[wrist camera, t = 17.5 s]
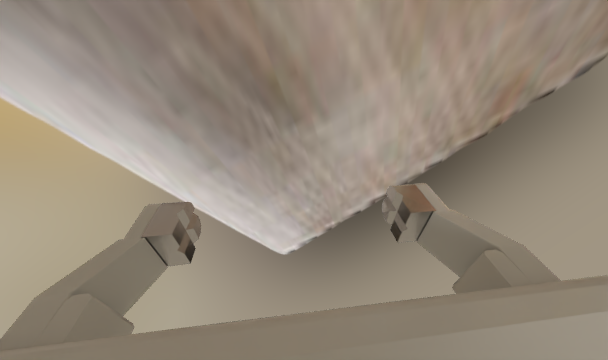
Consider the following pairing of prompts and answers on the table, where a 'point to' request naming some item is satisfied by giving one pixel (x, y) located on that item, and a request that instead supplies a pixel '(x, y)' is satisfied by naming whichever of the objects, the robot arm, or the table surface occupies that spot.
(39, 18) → the table surface
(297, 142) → the table surface
